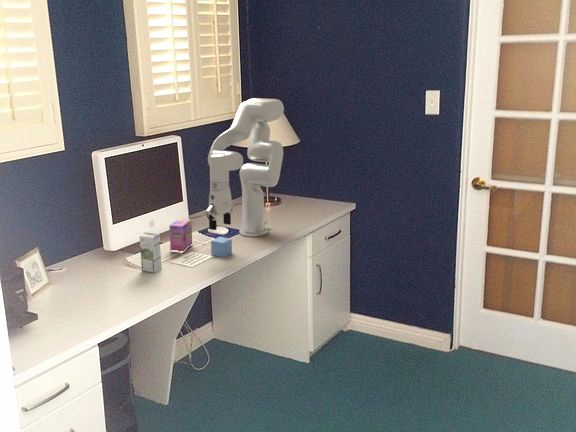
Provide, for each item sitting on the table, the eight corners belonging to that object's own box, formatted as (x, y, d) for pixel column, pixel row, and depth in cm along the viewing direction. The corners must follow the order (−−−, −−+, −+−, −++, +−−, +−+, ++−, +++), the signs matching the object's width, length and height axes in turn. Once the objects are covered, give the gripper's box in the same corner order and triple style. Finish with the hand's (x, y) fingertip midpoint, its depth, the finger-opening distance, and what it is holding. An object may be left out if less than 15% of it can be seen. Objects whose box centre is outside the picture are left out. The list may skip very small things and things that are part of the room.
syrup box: (162, 268, 259) (160, 232, 255) (154, 273, 253) (152, 237, 249) (149, 266, 261) (147, 231, 256) (141, 271, 255) (138, 235, 251)
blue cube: (220, 250, 279) (219, 236, 277) (231, 252, 276) (231, 239, 275) (211, 254, 274) (210, 240, 272) (223, 257, 271) (223, 243, 270)
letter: (191, 252, 277) (191, 251, 277) (213, 256, 271) (213, 256, 271) (169, 262, 265) (169, 261, 265) (191, 267, 260) (191, 266, 260)
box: (183, 253, 275) (182, 226, 272) (170, 252, 276) (168, 225, 273) (192, 245, 285) (191, 219, 281) (180, 244, 286) (179, 217, 283)
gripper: (214, 190, 258) (214, 233, 262) (239, 182, 272) (239, 223, 277) (198, 188, 261) (199, 230, 266) (224, 180, 276) (224, 220, 280)
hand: (220, 226), depth 271 cm, fingers open, 9 cm apart
